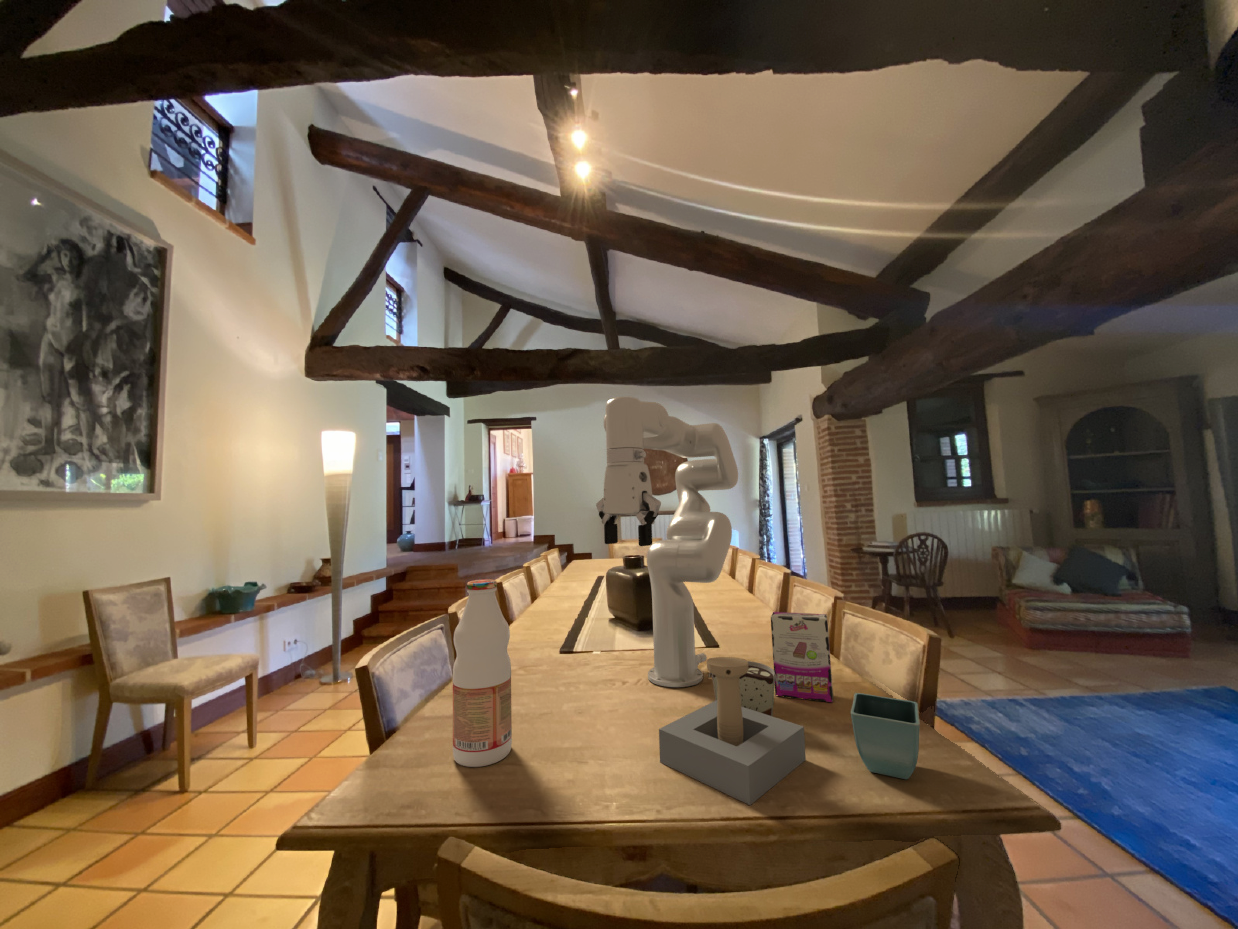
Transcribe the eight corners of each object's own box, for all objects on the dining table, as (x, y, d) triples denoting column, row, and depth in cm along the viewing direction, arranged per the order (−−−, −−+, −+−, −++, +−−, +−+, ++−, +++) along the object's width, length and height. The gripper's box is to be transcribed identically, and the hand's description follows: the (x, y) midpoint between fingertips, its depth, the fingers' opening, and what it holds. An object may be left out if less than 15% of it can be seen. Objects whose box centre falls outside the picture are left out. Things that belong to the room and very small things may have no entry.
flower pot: (925, 792, 68) (920, 724, 68) (854, 776, 72) (850, 712, 73) (922, 762, 75) (917, 701, 76) (858, 749, 80) (854, 692, 80)
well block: (719, 728, 88) (718, 699, 89) (805, 760, 77) (803, 726, 77) (659, 762, 77) (658, 729, 78) (749, 805, 66) (748, 766, 66)
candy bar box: (832, 694, 102) (828, 613, 103) (833, 703, 97) (828, 618, 99) (776, 688, 106) (772, 610, 108) (774, 696, 102) (770, 615, 103)
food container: (784, 719, 91) (781, 663, 92) (780, 733, 85) (777, 674, 86) (718, 709, 96) (716, 656, 97) (710, 722, 91) (708, 666, 91)
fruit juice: (461, 775, 75) (461, 588, 77) (446, 750, 83) (446, 581, 85) (520, 756, 80) (518, 581, 82) (500, 735, 88) (499, 575, 90)
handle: (754, 769, 74) (749, 667, 75) (711, 767, 75) (707, 666, 76) (751, 753, 79) (746, 657, 80) (710, 751, 80) (706, 656, 81)
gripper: (670, 456, 96) (673, 545, 94) (610, 463, 108) (612, 541, 107) (643, 454, 91) (646, 548, 89) (583, 461, 103) (585, 544, 102)
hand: (627, 544), depth 98 cm, fingers open, 9 cm apart
